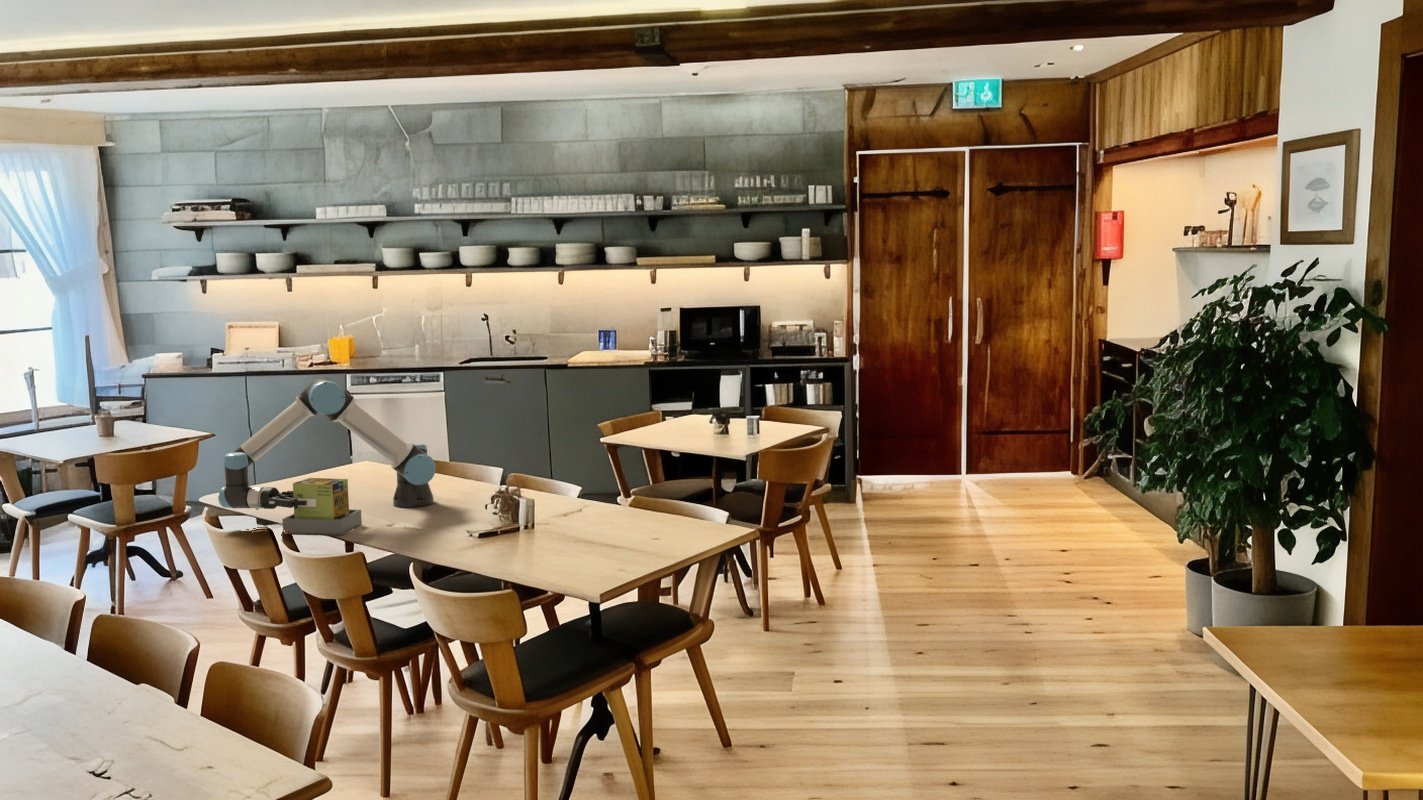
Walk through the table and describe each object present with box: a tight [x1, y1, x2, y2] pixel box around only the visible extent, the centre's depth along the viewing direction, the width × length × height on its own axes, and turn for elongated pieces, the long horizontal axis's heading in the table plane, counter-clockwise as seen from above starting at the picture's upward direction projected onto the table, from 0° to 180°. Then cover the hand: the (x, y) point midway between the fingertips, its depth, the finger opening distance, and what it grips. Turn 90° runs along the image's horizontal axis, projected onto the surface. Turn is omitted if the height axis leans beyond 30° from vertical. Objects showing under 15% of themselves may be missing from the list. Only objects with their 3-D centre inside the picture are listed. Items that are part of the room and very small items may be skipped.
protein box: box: [292, 477, 350, 519], centre depth 376 cm, size 10×15×16 cm
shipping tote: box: [281, 508, 363, 537], centre depth 377 cm, size 21×16×6 cm
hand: (324, 499), depth 375 cm, fingers closed on protein box, 11 cm apart
